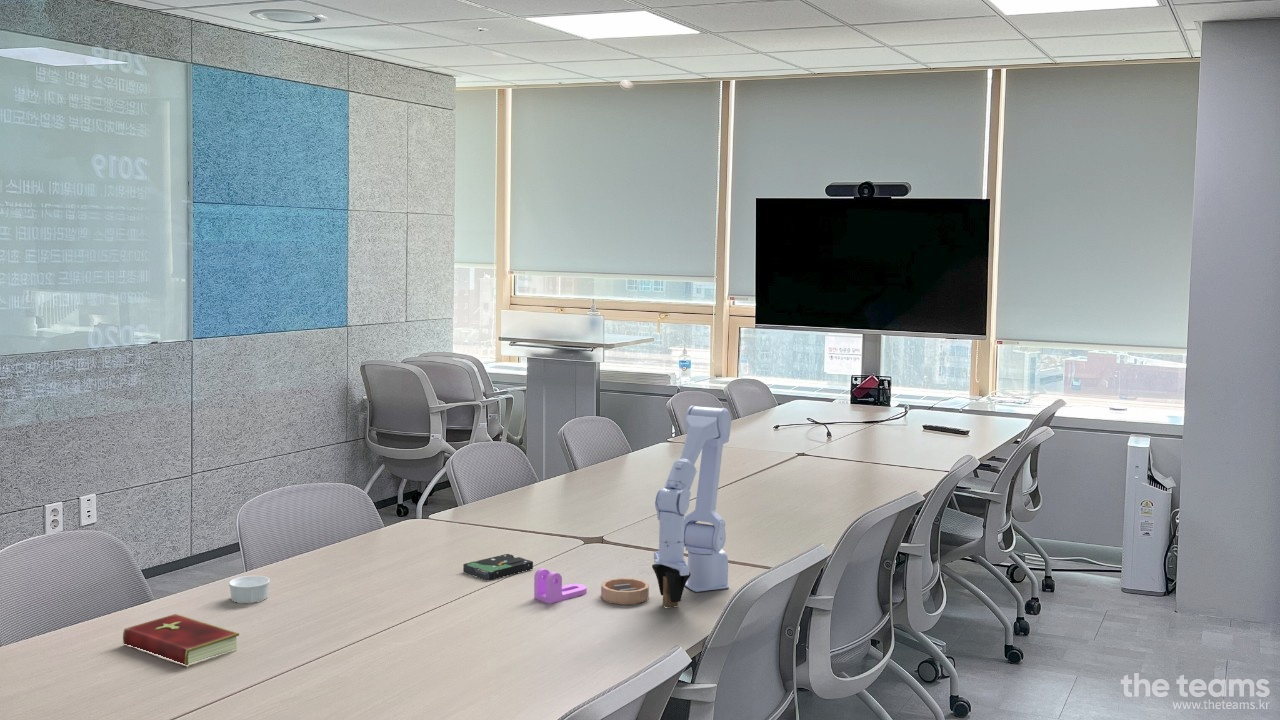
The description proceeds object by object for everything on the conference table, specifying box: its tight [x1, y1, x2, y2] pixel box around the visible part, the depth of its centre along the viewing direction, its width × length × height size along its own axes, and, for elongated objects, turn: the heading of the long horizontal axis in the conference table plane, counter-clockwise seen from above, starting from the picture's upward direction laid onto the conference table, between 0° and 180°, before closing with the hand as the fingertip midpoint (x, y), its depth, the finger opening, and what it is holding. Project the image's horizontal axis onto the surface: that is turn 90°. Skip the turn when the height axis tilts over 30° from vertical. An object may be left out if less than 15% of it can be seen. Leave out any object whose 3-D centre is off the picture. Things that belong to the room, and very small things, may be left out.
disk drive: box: [462, 553, 534, 581], centre depth 284 cm, size 10×3×15 cm
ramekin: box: [228, 575, 271, 604], centre depth 258 cm, size 9×9×4 cm
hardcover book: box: [122, 613, 240, 665], centre depth 226 cm, size 12×21×4 cm, turn 56°
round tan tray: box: [600, 577, 650, 606], centre depth 264 cm, size 11×11×3 cm
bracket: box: [533, 567, 588, 604], centre depth 265 cm, size 13×6×7 cm, turn 135°
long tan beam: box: [662, 576, 679, 608], centre depth 257 cm, size 3×2×7 cm, turn 114°
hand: (670, 598), depth 258 cm, fingers open, 5 cm apart
